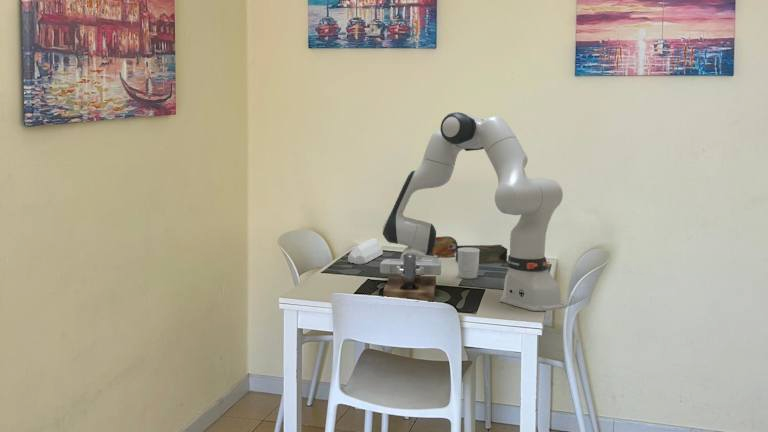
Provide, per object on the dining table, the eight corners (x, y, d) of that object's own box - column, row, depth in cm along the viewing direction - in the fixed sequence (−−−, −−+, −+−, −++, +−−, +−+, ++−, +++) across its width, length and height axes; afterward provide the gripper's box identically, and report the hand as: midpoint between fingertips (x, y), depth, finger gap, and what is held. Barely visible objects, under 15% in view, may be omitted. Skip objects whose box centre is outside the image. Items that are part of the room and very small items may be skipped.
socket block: (435, 284, 297) (436, 276, 297) (433, 301, 274) (433, 292, 273) (389, 283, 299) (389, 274, 298) (383, 300, 275) (383, 291, 275)
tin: (421, 258, 343) (422, 237, 341) (419, 256, 346) (419, 236, 344) (457, 257, 346) (458, 236, 345) (455, 255, 349) (455, 235, 348)
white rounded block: (363, 243, 353) (341, 254, 331) (377, 235, 350) (356, 246, 328) (371, 259, 353) (350, 271, 330) (386, 252, 350) (365, 263, 328)
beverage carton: (507, 263, 336) (508, 246, 335) (460, 265, 331) (461, 248, 330) (500, 259, 343) (501, 243, 342) (454, 261, 339) (454, 244, 338)
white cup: (477, 279, 306) (478, 252, 304) (455, 278, 307) (456, 251, 306) (479, 275, 314) (480, 248, 312) (458, 273, 315) (458, 247, 314)
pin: (417, 292, 279) (418, 256, 277) (406, 293, 278) (407, 257, 276) (411, 289, 283) (412, 253, 281) (400, 290, 281) (401, 254, 279)
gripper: (381, 253, 292) (377, 261, 279) (442, 255, 290) (440, 263, 277) (381, 271, 293) (377, 280, 280) (441, 273, 291) (440, 282, 278)
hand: (409, 272), depth 278 cm, fingers closed on pin, 4 cm apart
